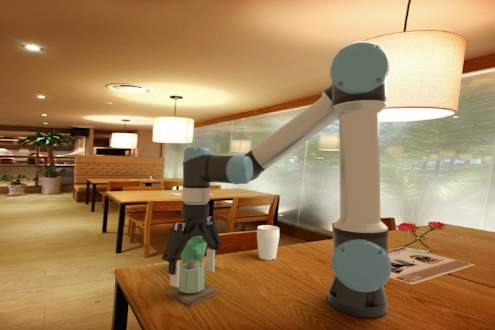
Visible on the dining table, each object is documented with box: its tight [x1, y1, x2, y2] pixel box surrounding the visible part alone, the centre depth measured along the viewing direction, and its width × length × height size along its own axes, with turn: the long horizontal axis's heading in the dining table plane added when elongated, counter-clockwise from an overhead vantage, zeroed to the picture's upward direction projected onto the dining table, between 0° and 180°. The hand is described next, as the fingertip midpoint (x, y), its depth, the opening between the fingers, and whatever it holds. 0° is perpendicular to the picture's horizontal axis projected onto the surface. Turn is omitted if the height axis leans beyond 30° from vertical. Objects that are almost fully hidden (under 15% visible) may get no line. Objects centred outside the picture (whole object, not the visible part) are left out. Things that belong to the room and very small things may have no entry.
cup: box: [256, 224, 280, 261], centre depth 116 cm, size 9×9×12 cm
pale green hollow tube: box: [179, 262, 206, 293], centre depth 82 cm, size 7×7×6 cm
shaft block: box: [166, 260, 219, 307], centre depth 82 cm, size 10×10×9 cm
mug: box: [180, 236, 208, 265], centre depth 98 cm, size 15×10×10 cm
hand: (193, 277), depth 82 cm, fingers open, 13 cm apart
